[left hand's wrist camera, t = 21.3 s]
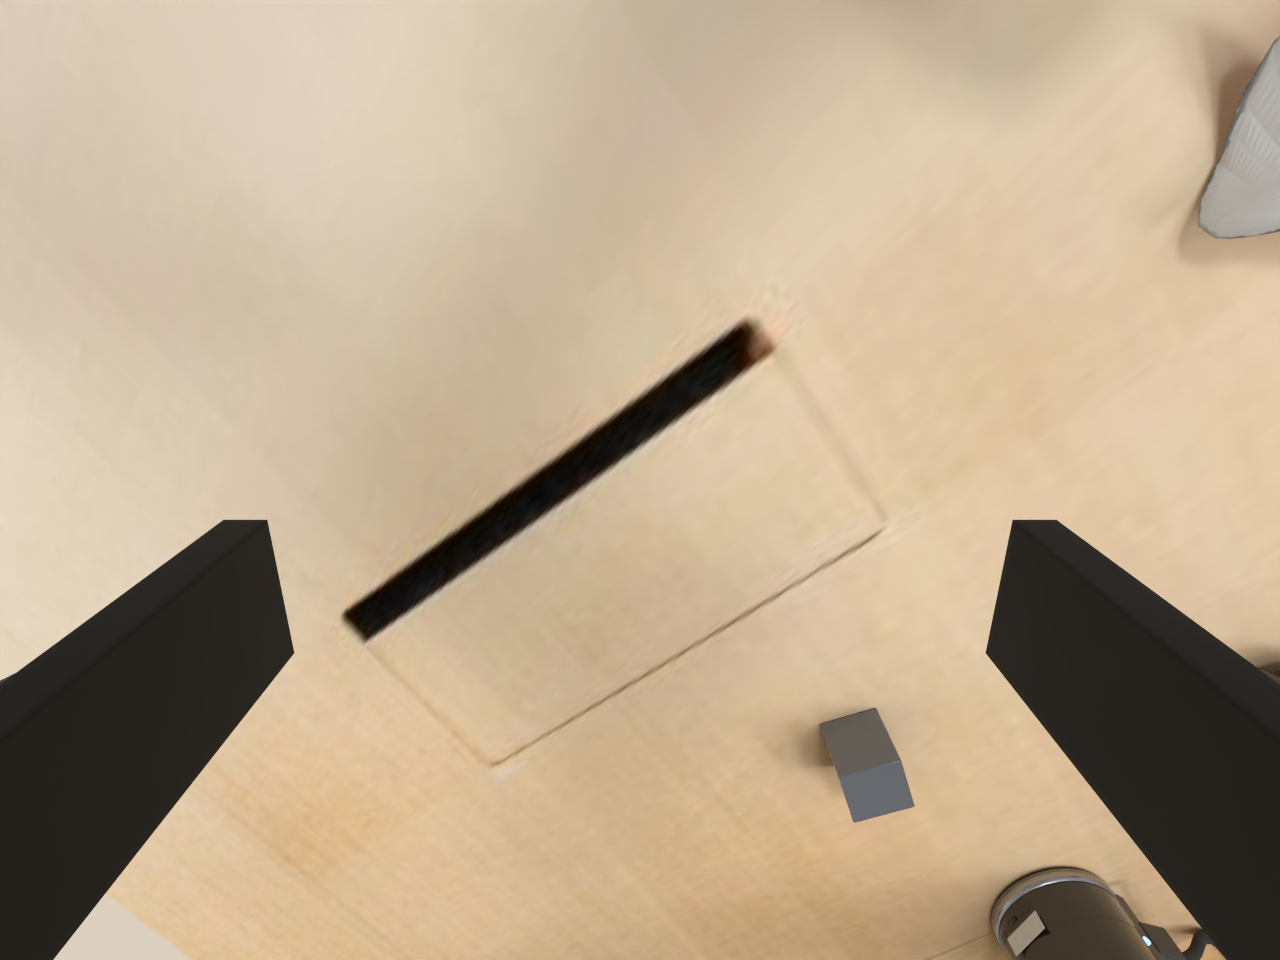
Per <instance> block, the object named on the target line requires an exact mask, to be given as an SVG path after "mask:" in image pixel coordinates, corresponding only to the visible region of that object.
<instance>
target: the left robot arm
mask: <svg viewBox="0 0 1280 960" xmlns="http://www.w3.org/2000/svg"><path fill="white" fill-rule="evenodd" d="M293 654H294V650H293V645H292V640H291V635H290V630H289V625H288V620H287V615H286V610H285V605H284V600H283V595H282V590H281V586H280V581H279V576H278V571H277V566H276V561H275V556H274V551H273V546H272V541H271V536H270V531H269V526H268V521H267V520H223V521H222V522H220V523H219V524H218V525H216V526H215V527H213V528H212V529H211V530H209V531H208V532H207V533H205V534H204V535H203V536H201V537H200V538H199V539H197V540H196V541H194V542H193V543H192V544H190V545H189V546H188V547H186V548H185V549H184V550H182V551H181V552H180V553H178V554H177V555H175V556H174V557H173V558H171V559H170V560H169V561H167V562H166V563H165V564H163V565H162V566H161V567H159V568H158V569H156V570H155V571H154V572H152V573H151V574H150V575H148V576H147V577H146V578H144V579H143V580H142V581H140V582H139V583H138V584H136V585H135V586H133V587H132V588H131V589H129V590H128V591H127V592H125V593H124V594H123V595H121V596H120V597H119V598H117V599H116V600H114V601H113V602H112V603H110V604H109V605H108V606H106V607H105V608H104V609H102V610H101V611H100V612H98V613H97V614H95V615H94V616H93V617H91V618H90V619H89V620H87V621H86V622H85V623H83V624H82V625H81V626H79V627H78V628H76V629H75V630H74V631H72V632H71V633H70V634H68V635H67V636H66V637H64V638H63V639H62V640H60V641H59V642H57V643H56V644H55V645H53V646H52V647H51V648H49V649H48V650H47V651H45V652H44V653H43V654H41V655H40V656H38V657H37V658H36V659H34V660H33V661H32V662H30V663H29V664H28V665H26V666H25V667H24V668H22V669H21V670H19V671H18V672H17V673H15V674H13V675H11V676H9V677H7V678H5V679H3V680H1V681H0V960H53V959H54V958H55V957H56V955H57V954H58V953H59V952H60V950H61V949H62V948H63V946H64V945H65V944H66V943H67V941H68V940H69V939H70V938H71V936H72V935H73V934H74V932H75V931H76V930H77V929H78V927H79V926H80V925H81V924H82V922H83V921H84V920H85V918H86V917H87V916H88V915H89V913H90V912H91V911H92V910H93V908H94V907H95V906H96V904H97V903H98V902H99V901H100V899H101V898H102V897H103V896H104V894H105V893H106V892H107V891H108V889H109V888H110V887H111V885H112V884H113V883H114V882H115V880H116V879H117V878H118V877H119V875H120V874H121V873H122V871H123V870H124V869H125V868H126V866H127V865H128V864H129V863H130V861H131V860H132V859H133V857H134V856H135V855H136V854H137V852H138V851H139V850H140V849H141V847H142V846H143V845H144V843H145V842H146V841H147V840H148V838H149V837H150V836H151V835H152V833H153V832H154V831H155V829H156V828H157V827H158V826H159V824H160V823H161V822H162V821H163V819H164V818H165V817H166V815H167V814H168V813H169V812H170V810H171V809H172V808H173V807H174V805H175V804H176V803H177V801H178V800H179V799H180V798H181V796H182V795H183V794H184V793H185V791H186V790H187V789H188V787H189V786H190V785H191V784H192V782H193V781H194V780H195V779H196V777H197V776H198V775H199V773H200V772H201V771H202V770H203V768H204V767H205V766H206V765H207V763H208V762H209V761H210V759H211V758H212V757H213V756H214V754H215V753H216V752H217V751H218V749H219V748H220V747H221V745H222V744H223V743H224V742H225V740H226V739H227V738H228V737H229V735H230V734H231V733H232V731H233V730H234V729H235V728H236V726H237V725H238V724H239V723H240V721H241V720H242V719H243V717H244V716H245V715H246V714H247V712H248V711H249V710H250V709H251V707H252V706H253V705H254V704H255V702H256V701H257V700H258V698H259V697H260V696H261V695H262V693H263V692H264V691H265V690H266V688H267V687H268V686H269V684H270V683H271V682H272V681H273V679H274V678H275V677H276V676H277V674H278V673H279V672H280V670H281V669H282V668H283V667H284V665H285V664H286V663H287V662H288V660H289V659H290V658H291V656H292V655H293ZM986 654H987V655H988V656H989V658H990V659H991V660H992V662H993V663H994V664H995V665H996V667H997V668H998V669H999V670H1000V672H1001V673H1002V674H1003V676H1004V677H1005V678H1006V679H1007V681H1008V682H1009V683H1010V684H1011V686H1012V687H1013V688H1014V690H1015V691H1016V692H1017V693H1018V695H1019V696H1020V697H1021V698H1022V700H1023V701H1024V702H1025V704H1026V705H1027V706H1028V707H1029V709H1030V710H1031V711H1032V712H1033V714H1034V715H1035V716H1036V717H1037V719H1038V720H1039V721H1040V723H1041V724H1042V725H1043V726H1044V728H1045V729H1046V730H1047V731H1048V733H1049V734H1050V735H1051V737H1052V738H1053V739H1054V740H1055V742H1056V743H1057V744H1058V745H1059V747H1060V748H1061V749H1062V751H1063V752H1064V753H1065V754H1066V756H1067V757H1068V758H1069V759H1070V761H1071V762H1072V763H1073V765H1074V766H1075V767H1076V768H1077V770H1078V771H1079V772H1080V773H1081V775H1082V776H1083V777H1084V779H1085V780H1086V781H1087V782H1088V784H1089V785H1090V786H1091V787H1092V789H1093V790H1094V791H1095V793H1096V794H1097V795H1098V796H1099V798H1100V799H1101V800H1102V801H1103V803H1104V804H1105V805H1106V807H1107V808H1108V809H1109V810H1110V812H1111V813H1112V814H1113V815H1114V817H1115V818H1116V819H1117V821H1118V822H1119V823H1120V824H1121V826H1122V827H1123V828H1124V829H1125V831H1126V832H1127V833H1128V835H1129V836H1130V837H1131V838H1132V840H1133V841H1134V842H1135V843H1136V845H1137V846H1138V847H1139V849H1140V850H1141V851H1142V852H1143V854H1144V855H1145V856H1146V857H1147V859H1148V860H1149V861H1150V863H1151V864H1152V865H1153V866H1154V868H1155V869H1156V870H1157V871H1158V873H1159V874H1160V875H1161V877H1162V878H1163V879H1164V880H1165V882H1166V883H1167V884H1168V885H1169V887H1170V888H1171V889H1172V891H1173V892H1174V893H1175V894H1176V896H1177V897H1178V898H1179V899H1180V901H1181V902H1182V903H1183V905H1184V906H1185V907H1186V908H1187V910H1188V911H1189V912H1190V913H1191V915H1192V916H1193V917H1194V918H1195V920H1196V921H1197V922H1198V924H1199V925H1200V926H1201V927H1202V929H1203V930H1204V931H1205V932H1206V934H1207V935H1208V936H1209V938H1210V939H1211V940H1212V941H1213V943H1214V944H1215V945H1216V946H1217V948H1218V949H1219V950H1220V952H1221V953H1222V954H1223V955H1224V957H1225V958H1226V959H1227V960H1280V678H1279V677H1277V676H1275V675H1273V674H1271V673H1269V672H1267V671H1265V670H1263V669H1258V668H1256V667H1255V666H1254V665H1252V664H1251V663H1250V662H1248V661H1247V660H1246V659H1244V658H1243V657H1242V656H1240V655H1239V654H1237V653H1236V652H1235V651H1233V650H1232V649H1231V648H1229V647H1228V646H1227V645H1225V644H1224V643H1223V642H1221V641H1220V640H1218V639H1217V638H1216V637H1214V636H1213V635H1212V634H1210V633H1209V632H1208V631H1206V630H1205V629H1204V628H1202V627H1201V626H1199V625H1198V624H1197V623H1195V622H1194V621H1193V620H1191V619H1190V618H1189V617H1187V616H1186V615H1185V614H1183V613H1182V612H1180V611H1179V610H1178V609H1176V608H1175V607H1174V606H1172V605H1171V604H1170V603H1168V602H1167V601H1166V600H1164V599H1163V598H1161V597H1160V596H1159V595H1157V594H1156V593H1155V592H1153V591H1152V590H1151V589H1149V588H1148V587H1147V586H1145V585H1144V584H1142V583H1141V582H1140V581H1138V580H1137V579H1136V578H1134V577H1133V576H1132V575H1130V574H1129V573H1128V572H1126V571H1125V570H1124V569H1122V568H1121V567H1119V566H1118V565H1117V564H1115V563H1114V562H1113V561H1111V560H1110V559H1109V558H1107V557H1106V556H1105V555H1103V554H1102V553H1100V552H1099V551H1098V550H1096V549H1095V548H1094V547H1092V546H1091V545H1090V544H1088V543H1087V542H1086V541H1084V540H1083V539H1081V538H1080V537H1079V536H1077V535H1076V534H1075V533H1073V532H1072V531H1071V530H1069V529H1068V528H1067V527H1065V526H1064V525H1062V524H1061V523H1060V522H1058V521H1057V520H1013V521H1012V526H1011V531H1010V536H1009V541H1008V546H1007V551H1006V556H1005V561H1004V566H1003V571H1002V576H1001V581H1000V586H999V590H998V595H997V600H996V605H995V610H994V615H993V620H992V625H991V630H990V635H989V640H988V645H987V650H986Z"/></svg>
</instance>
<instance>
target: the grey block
mask: <svg viewBox="0 0 1280 960" xmlns="http://www.w3.org/2000/svg"><path fill="white" fill-rule="evenodd" d="M820 727H821V730H822V733H823V736H824V739H825V741H826V744H827V747H828V750H829V753H830V756H831V759H832V762H833V765H834V768H835V771H836V774H837V777H838V780H839V782H840V785H841V788H842V791H843V794H844V797H845V800H846V802H847V805H848V808H849V811H850V814H851V817H852V820H853V822H854V823H855V822H859V821H863V820H867V819H870V818H874V817H878V816H881V815H885V814H889V813H893V812H896V811H900V810H904V809H908V808H911V807H914V802H913V799H912V796H911V792H910V789H909V785H908V782H907V779H906V775H905V772H904V768H903V765H902V762H901V759H900V757H899V755H898V753H897V751H896V749H895V746H894V744H893V742H892V740H891V738H890V736H889V734H888V732H887V730H886V728H885V725H884V723H883V721H882V719H881V717H880V715H879V713H878V711H877V709H876V708H875V709H871V710H868V711H864V712H861V713H857V714H854V715H850V716H847V717H843V718H840V719H836V720H833V721H829V722H826V723H822V724H820Z"/></svg>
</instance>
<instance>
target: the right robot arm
mask: <svg viewBox="0 0 1280 960" xmlns="http://www.w3.org/2000/svg"><path fill="white" fill-rule="evenodd" d="M991 926H992V930H993V932H994V934H995V936H996V938H997V940H998V942H999V944H1000V946H1001V948H1002V949H1003V951H1004V952H1005V954H1006V956H1007V958H1008V960H1200V959H1201V957H1202V955H1203V952H1204V949H1205V946H1206V944H1212V945H1214V946H1215V947H1217V946H1216V945H1215V944H1214V943H1213V941H1212V940H1211V939H1210V938H1209V936H1208V935H1207V934H1206V932H1205V931H1199V932H1197V933H1195V934H1194V936H1193V939H1192V942H1191V944H1190V946H1189V948H1188V949H1187V950H1186V951H1184V952H1181V951H1180V949H1179V948H1178V947H1177V945H1176V944H1175V943H1174V941H1173V940H1172V938H1171V937H1170V936H1169V934H1168V933H1167V932H1166V930H1165V929H1164V928H1161V927H1157V926H1153V925H1149V924H1146V923H1142V922H1140V921H1139V920H1138V919H1137V917H1136V916H1135V914H1134V913H1133V912H1132V910H1131V909H1130V907H1129V906H1128V904H1127V903H1126V902H1125V900H1124V899H1123V898H1122V897H1118V896H1115V894H1114V893H1113V892H1112V890H1111V889H1110V887H1109V886H1108V885H1107V884H1106V882H1105V881H1103V880H1102V879H1101V878H1099V877H1098V876H1096V875H1094V874H1092V873H1090V872H1087V871H1083V870H1079V869H1070V868H1060V869H1051V870H1046V871H1041V872H1038V873H1035V874H1032V875H1030V876H1028V877H1025V878H1023V879H1022V880H1020V881H1018V882H1016V883H1015V884H1013V885H1012V886H1011V887H1010V888H1008V889H1007V890H1006V891H1005V892H1004V893H1003V894H1002V895H1001V897H1000V898H999V899H998V901H997V902H996V904H995V906H994V908H993V911H992V915H991Z"/></svg>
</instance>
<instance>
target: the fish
mask: <svg viewBox="0 0 1280 960" xmlns="http://www.w3.org/2000/svg"><path fill="white" fill-rule="evenodd" d="M1198 226H1199V227H1200V228H1201V229H1203V230H1204V231H1206V232H1207V233H1208V234H1210V235H1211V236H1213V237H1214V238H1227V239H1232V238H1242V237H1252V236H1257V235H1263V234H1268V233H1273V232H1278V231H1280V37H1278V38H1277V39H1276V40H1275V41H1274V42H1273V44H1272V46H1271V47H1270V49H1269V51H1268V52H1267V54H1266V56H1265V57H1264V59H1263V61H1262V63H1261V64H1260V66H1259V68H1258V69H1257V71H1256V73H1255V74H1254V76H1253V78H1252V79H1251V81H1250V83H1249V84H1248V86H1247V88H1246V89H1245V91H1244V93H1243V95H1242V97H1241V100H1240V103H1239V105H1238V108H1237V111H1236V113H1235V116H1234V119H1233V122H1232V124H1231V127H1230V130H1229V133H1228V136H1227V138H1226V141H1225V144H1224V147H1223V150H1222V153H1221V156H1220V158H1219V161H1218V164H1217V166H1216V167H1215V169H1214V171H1213V173H1212V175H1211V177H1210V179H1209V181H1208V183H1207V186H1206V189H1205V191H1204V194H1203V197H1202V199H1201V203H1200V208H1199V213H1198Z"/></svg>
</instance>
